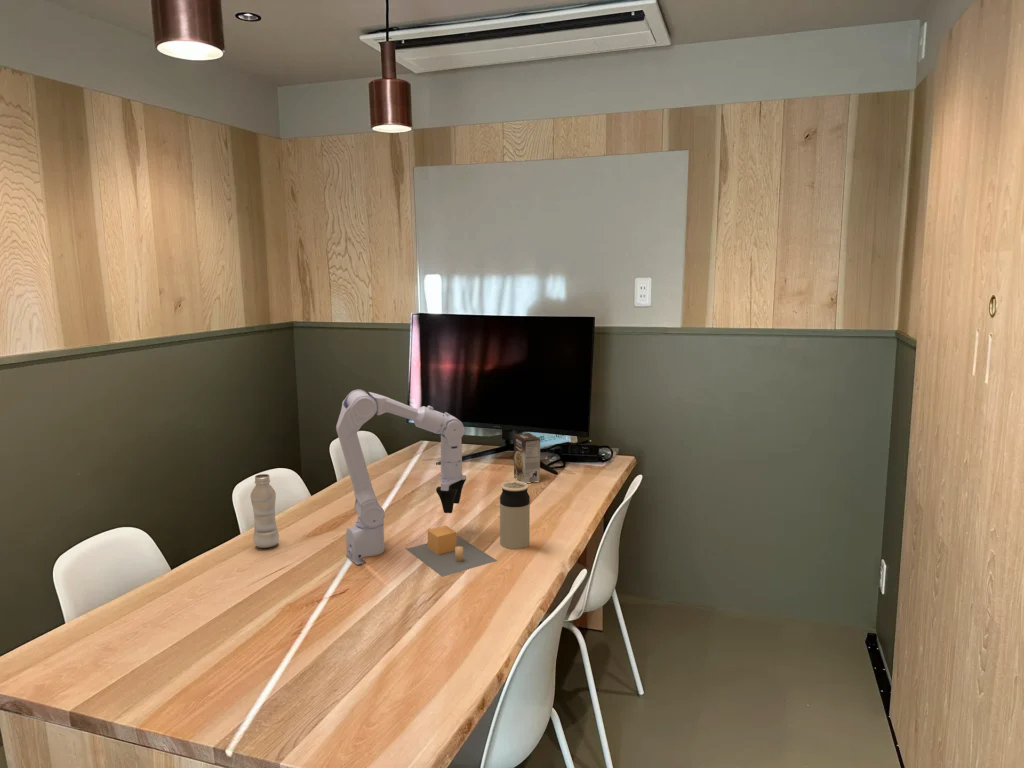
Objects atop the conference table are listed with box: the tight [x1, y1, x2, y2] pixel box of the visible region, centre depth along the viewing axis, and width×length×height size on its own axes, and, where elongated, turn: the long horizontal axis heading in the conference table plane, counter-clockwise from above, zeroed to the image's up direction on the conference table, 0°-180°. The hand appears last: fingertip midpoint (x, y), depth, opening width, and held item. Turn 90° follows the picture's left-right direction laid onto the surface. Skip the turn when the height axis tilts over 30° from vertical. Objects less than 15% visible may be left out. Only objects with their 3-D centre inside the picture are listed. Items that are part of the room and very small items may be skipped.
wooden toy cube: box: [427, 525, 457, 555], centre depth 184 cm, size 6×6×5 cm
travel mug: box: [499, 480, 531, 550], centre depth 187 cm, size 8×8×18 cm
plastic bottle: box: [249, 473, 280, 549], centre depth 188 cm, size 6×7×20 cm
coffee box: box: [513, 432, 541, 483], centre depth 246 cm, size 9×6×16 cm
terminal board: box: [405, 535, 498, 577], centre depth 180 cm, size 16×20×5 cm
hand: (451, 507), depth 190 cm, fingers open, 7 cm apart
